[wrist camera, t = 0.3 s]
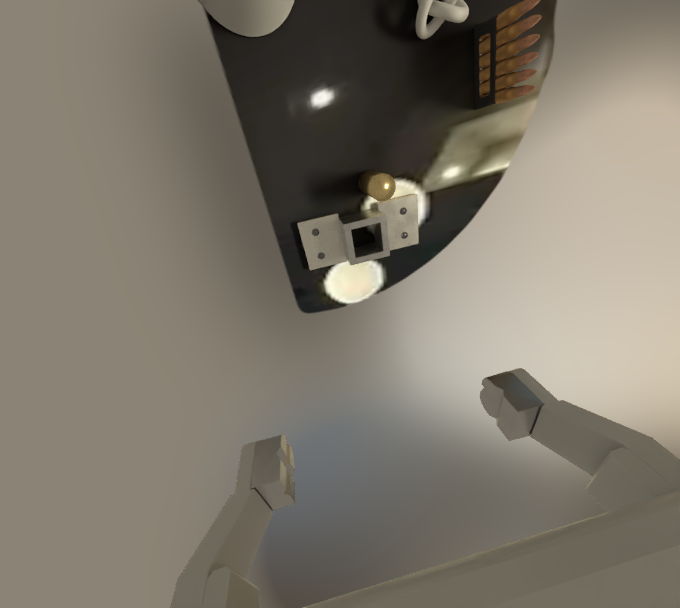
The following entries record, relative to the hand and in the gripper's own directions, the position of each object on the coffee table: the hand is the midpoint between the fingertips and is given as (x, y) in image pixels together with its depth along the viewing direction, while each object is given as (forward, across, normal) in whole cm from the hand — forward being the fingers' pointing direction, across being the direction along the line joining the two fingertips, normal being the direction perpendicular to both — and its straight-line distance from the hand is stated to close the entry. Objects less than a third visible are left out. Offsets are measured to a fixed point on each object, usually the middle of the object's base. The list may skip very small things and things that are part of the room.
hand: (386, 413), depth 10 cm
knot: (+46, -25, -23) cm, 57 cm away
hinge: (+46, -9, +8) cm, 47 cm away
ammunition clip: (+46, -33, -15) cm, 59 cm away
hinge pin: (+46, -12, -2) cm, 47 cm away
